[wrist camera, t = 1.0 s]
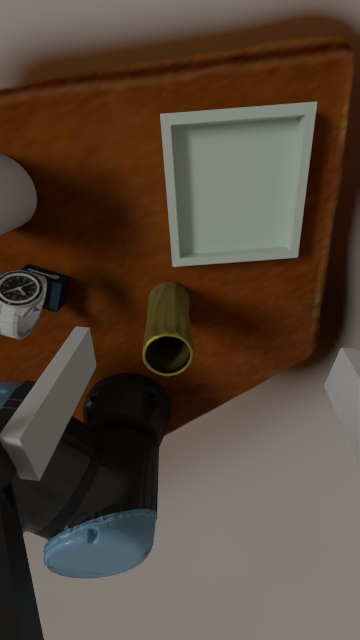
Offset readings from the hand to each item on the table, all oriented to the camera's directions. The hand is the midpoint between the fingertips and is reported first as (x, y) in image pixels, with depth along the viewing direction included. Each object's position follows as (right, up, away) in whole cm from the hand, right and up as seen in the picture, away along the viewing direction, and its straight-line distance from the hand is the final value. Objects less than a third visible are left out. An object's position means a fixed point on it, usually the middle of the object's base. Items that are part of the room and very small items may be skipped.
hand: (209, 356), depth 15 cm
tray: (+5, +18, +20) cm, 27 cm away
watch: (-20, +7, +25) cm, 33 cm away
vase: (-3, +5, +26) cm, 27 cm away
